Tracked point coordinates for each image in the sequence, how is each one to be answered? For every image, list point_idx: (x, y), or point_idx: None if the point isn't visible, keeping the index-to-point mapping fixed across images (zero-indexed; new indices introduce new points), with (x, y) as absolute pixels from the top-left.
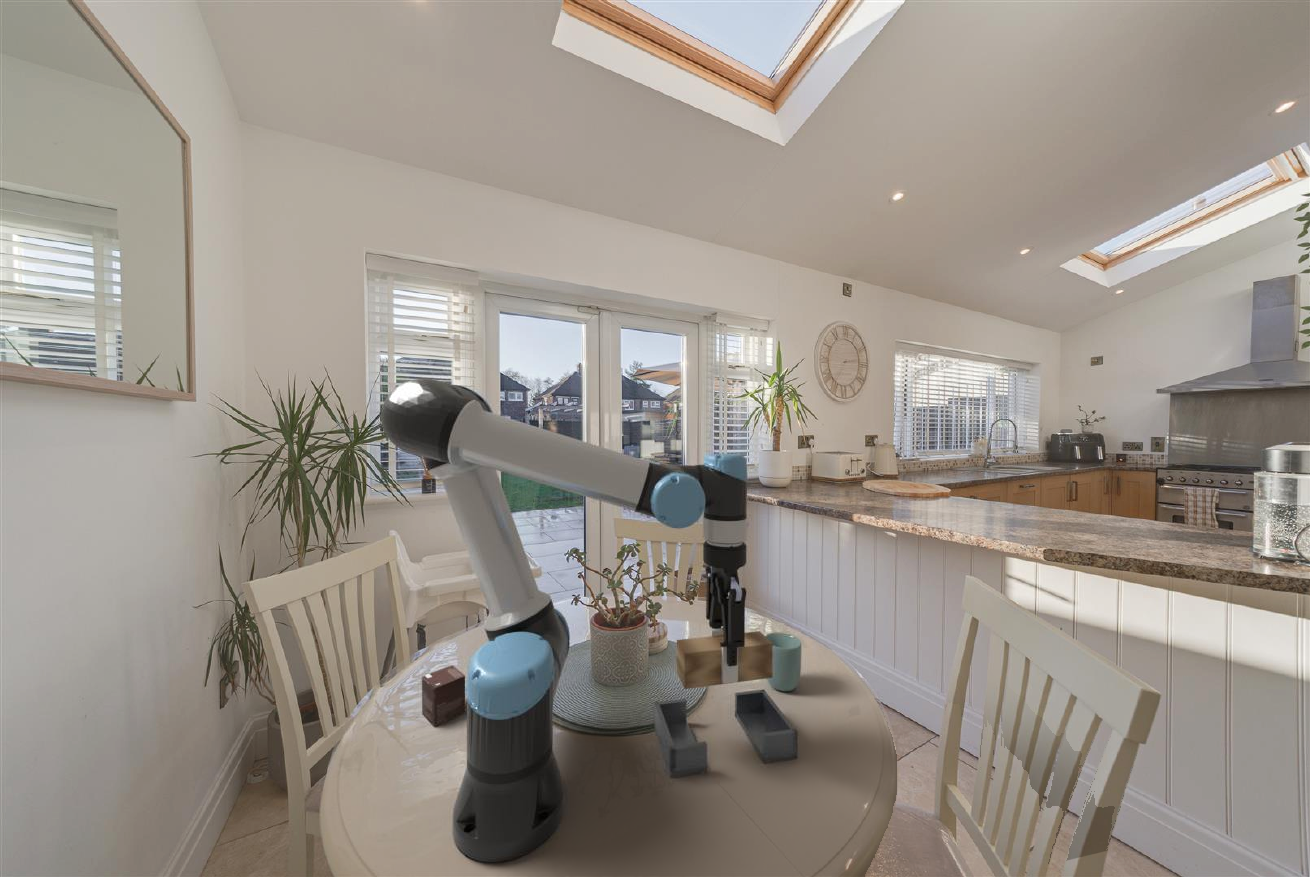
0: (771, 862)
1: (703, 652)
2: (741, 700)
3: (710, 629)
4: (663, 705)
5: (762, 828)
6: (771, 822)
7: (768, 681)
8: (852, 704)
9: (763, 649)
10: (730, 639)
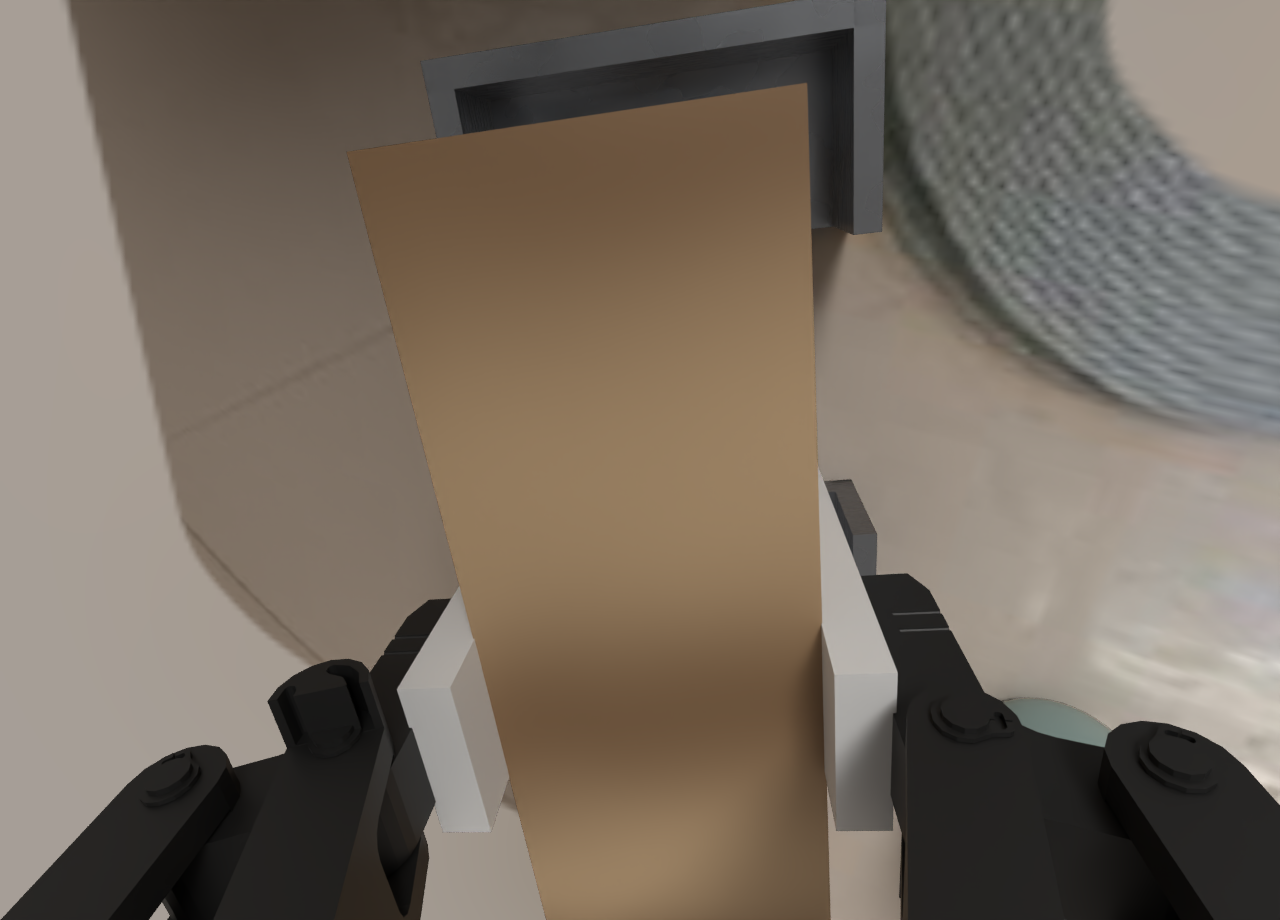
0: (161, 383)
1: (423, 428)
2: (848, 543)
3: (895, 667)
4: (851, 63)
5: (272, 397)
6: (298, 433)
7: (1031, 704)
8: (831, 889)
9: None
10: (63, 859)
